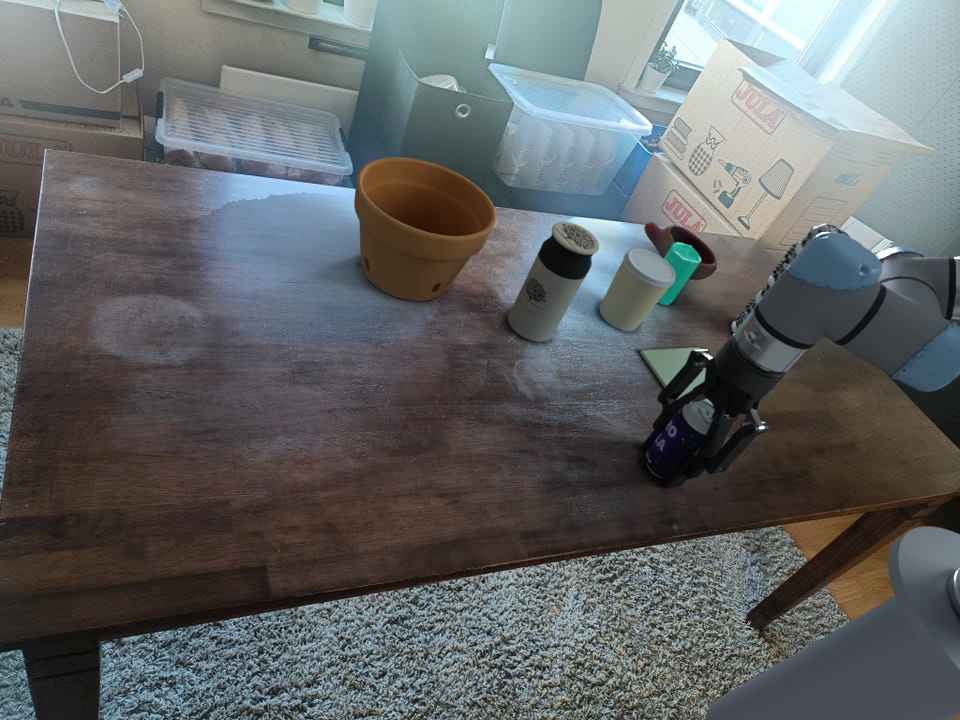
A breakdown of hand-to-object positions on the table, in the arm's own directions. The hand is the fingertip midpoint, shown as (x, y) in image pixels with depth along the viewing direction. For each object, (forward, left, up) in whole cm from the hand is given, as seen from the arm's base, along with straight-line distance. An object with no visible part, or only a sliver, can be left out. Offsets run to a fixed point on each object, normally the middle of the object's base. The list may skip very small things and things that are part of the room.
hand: (660, 465), depth 89 cm
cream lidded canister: (+31, -12, -1) cm, 33 cm away
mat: (+15, -18, 0) cm, 23 cm away
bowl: (+45, -35, -1) cm, 57 cm away
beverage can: (0, 0, -1) cm, 1 cm away
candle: (+37, -26, -1) cm, 45 cm away
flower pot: (+42, +26, -1) cm, 50 cm away
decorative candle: (+25, -42, -1) cm, 49 cm away
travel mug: (+29, +8, -1) cm, 30 cm away
